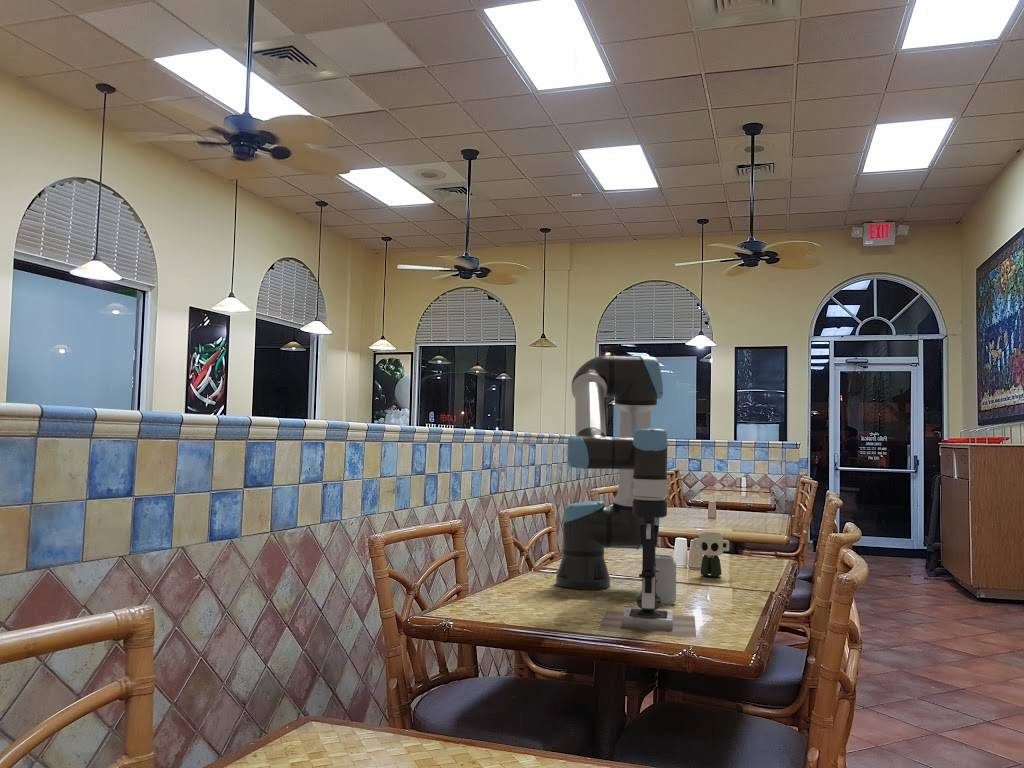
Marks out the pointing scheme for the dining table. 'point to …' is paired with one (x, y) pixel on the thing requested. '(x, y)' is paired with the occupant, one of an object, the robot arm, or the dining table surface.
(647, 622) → the steel collar
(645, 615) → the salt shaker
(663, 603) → the can
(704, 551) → the character mug
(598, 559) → the robot arm
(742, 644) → the dining table surface
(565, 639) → the dining table surface
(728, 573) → the dining table surface
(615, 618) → the walnut plate
